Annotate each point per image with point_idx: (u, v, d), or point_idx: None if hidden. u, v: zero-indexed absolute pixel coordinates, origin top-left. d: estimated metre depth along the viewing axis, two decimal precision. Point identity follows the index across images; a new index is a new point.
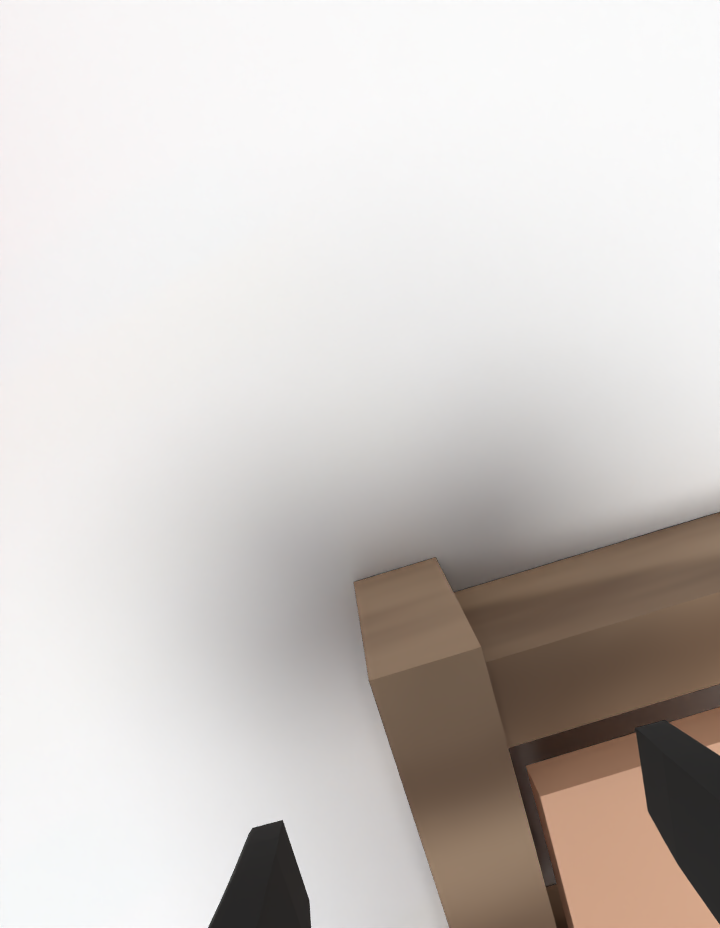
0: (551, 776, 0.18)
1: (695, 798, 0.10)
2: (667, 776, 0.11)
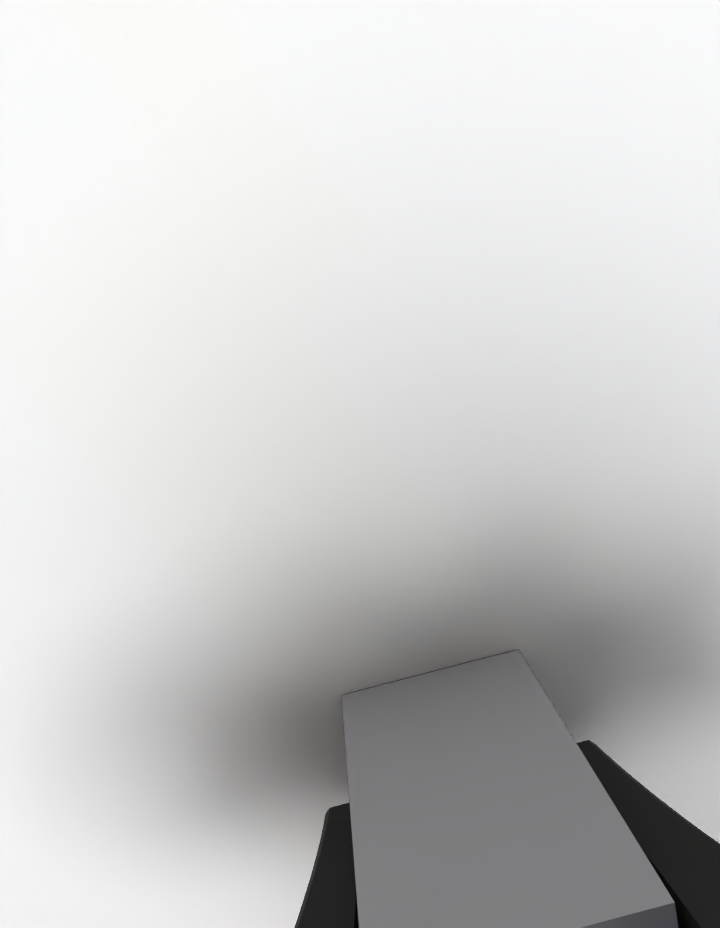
0: None
1: None
2: None
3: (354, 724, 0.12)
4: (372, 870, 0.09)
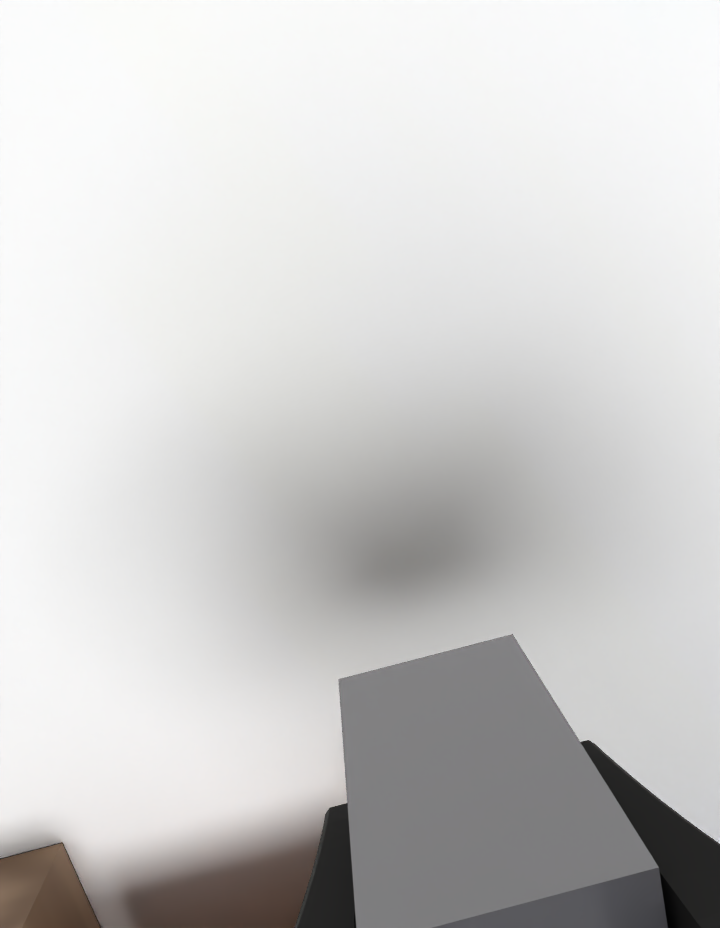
0: None
1: None
2: None
3: (351, 707, 0.13)
4: (367, 841, 0.09)
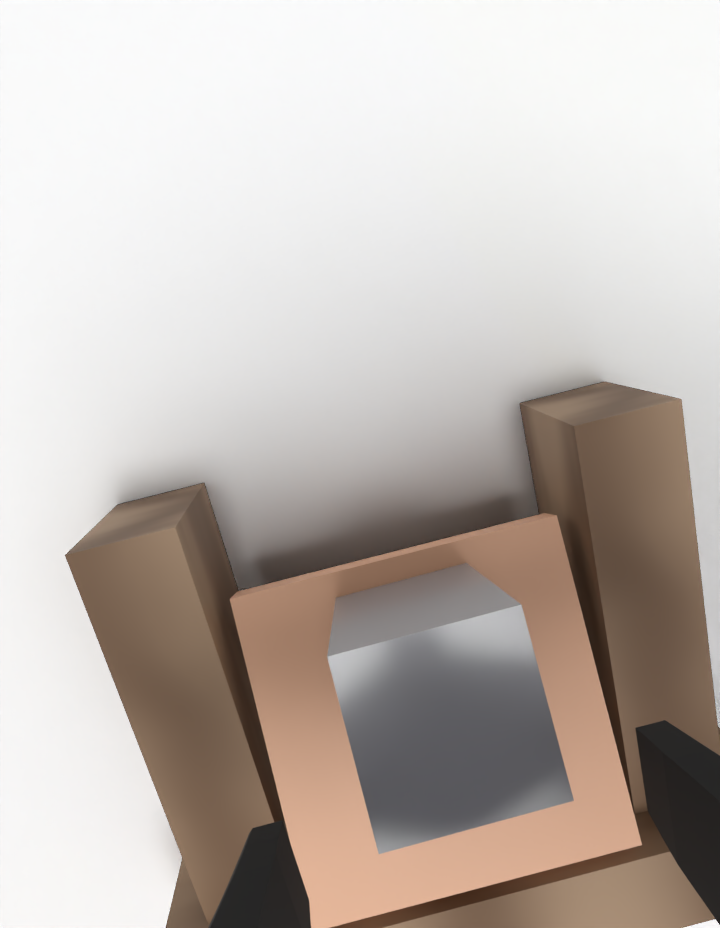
0: None
1: (695, 798, 0.10)
2: (667, 776, 0.11)
3: (342, 602, 0.17)
4: (341, 633, 0.14)
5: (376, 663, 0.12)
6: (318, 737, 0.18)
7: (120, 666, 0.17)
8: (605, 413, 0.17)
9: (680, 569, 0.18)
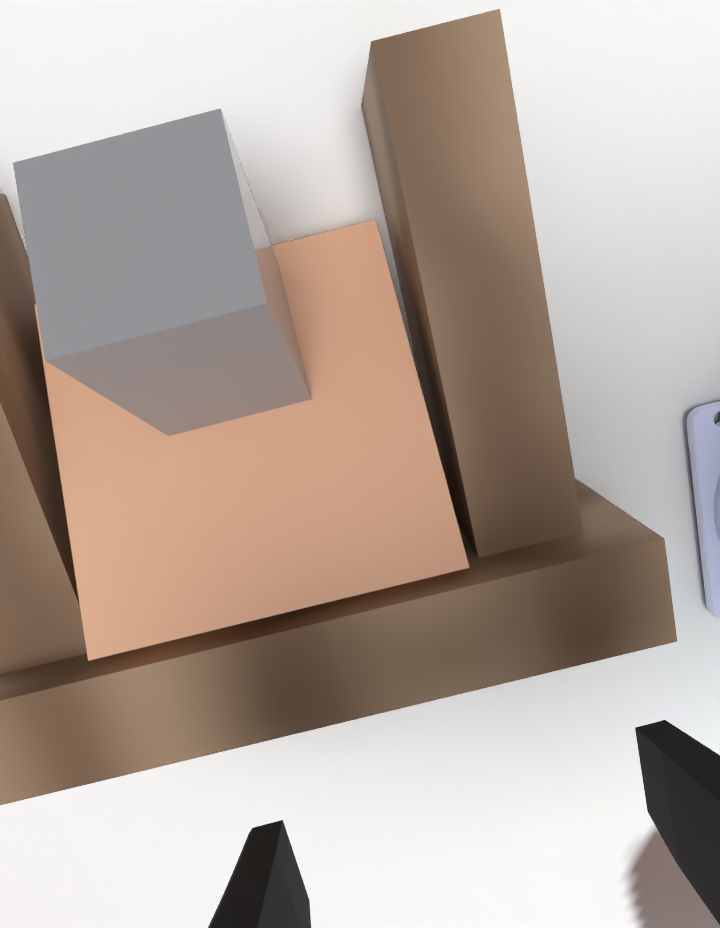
0: None
1: (695, 798, 0.10)
2: (667, 776, 0.11)
3: None
4: None
5: (62, 168, 0.11)
6: (112, 443, 0.17)
7: None
8: None
9: (512, 239, 0.15)
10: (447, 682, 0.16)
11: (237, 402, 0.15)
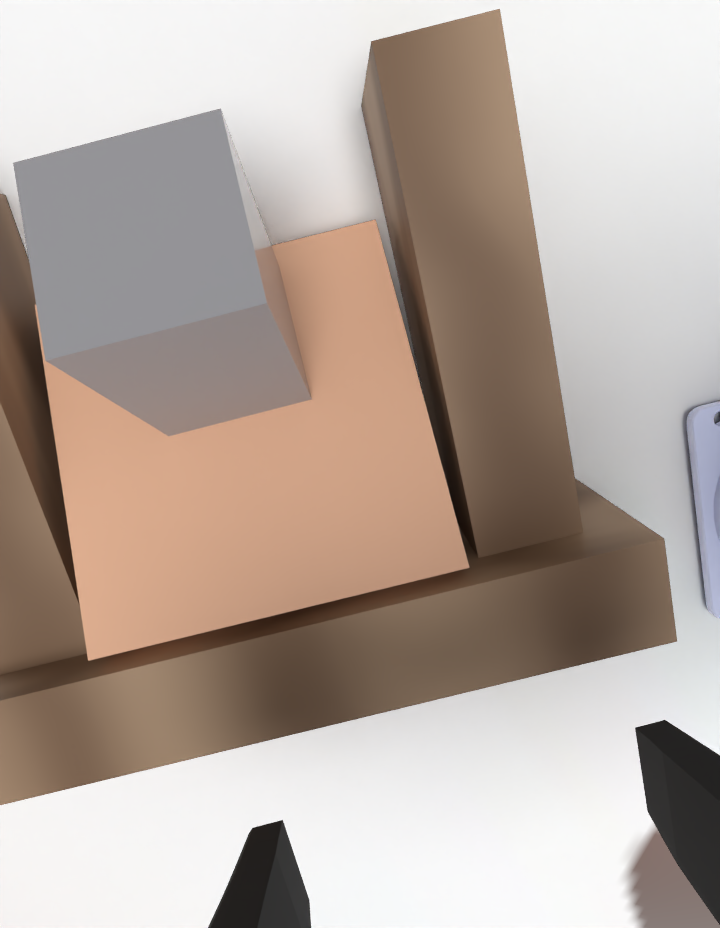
0: None
1: (695, 798, 0.10)
2: (667, 776, 0.11)
3: None
4: None
5: (62, 167, 0.11)
6: (112, 444, 0.17)
7: None
8: None
9: (512, 239, 0.15)
10: (447, 682, 0.16)
11: (237, 402, 0.15)
